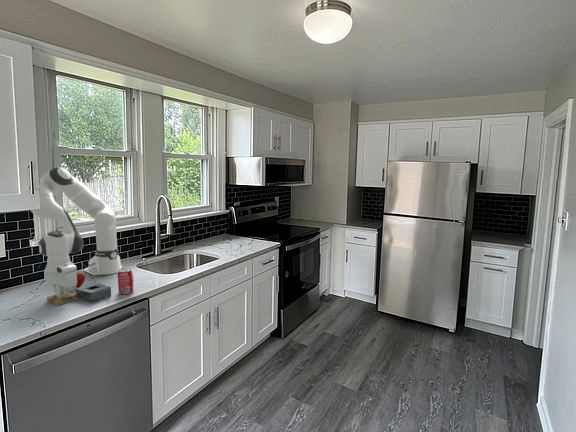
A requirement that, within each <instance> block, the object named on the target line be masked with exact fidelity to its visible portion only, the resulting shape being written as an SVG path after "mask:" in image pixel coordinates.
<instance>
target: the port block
mask: <svg viewBox="0 0 576 432" xmlns="http://www.w3.org/2000/svg"><path fill="white" fill-rule="evenodd" d="M75 294H76V300H77V299H78V300H81V301H84V302H85V303H86V302H87V303H90V304H93V303H97V302H99V301H102V300H104V299H107V298H110V297H112V287H111V285H110V286H109V285H106V284H101V283H98V282H93V283H89V284H86V285H84V286H83V285H82V286H81V287H79V288H77V287H75Z"/></svg>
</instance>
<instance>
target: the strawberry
mask: <svg viewBox="0 0 576 432" xmlns="http://www.w3.org/2000/svg"><path fill="white" fill-rule="evenodd" d="M76 271H78V272H76V274H77V285H76V287H75V288H79V287H82V286H83V284H84V282H85V280H86V276H85V274H84V271H83V272H81V271H79V270H76Z"/></svg>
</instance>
